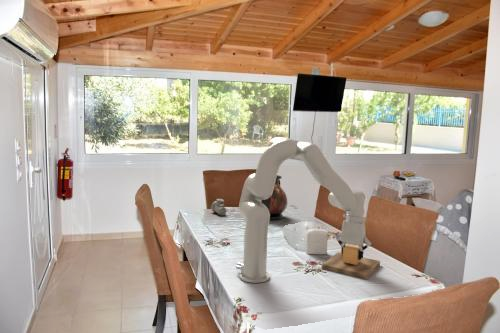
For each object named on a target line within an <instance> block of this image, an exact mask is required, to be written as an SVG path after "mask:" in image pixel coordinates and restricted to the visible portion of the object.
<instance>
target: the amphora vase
mask: <svg viewBox="0 0 500 333" xmlns="http://www.w3.org/2000/svg"><path fill="white" fill-rule="evenodd" d="M282 178H283V176H282V175H279V174H277V177H276V181H275V185H274V189H273V193H272V195H271V196H270V197H269V198H268V199H265V200H262V201H261V203H263V204H264V205H265V206H266V207H267V208H268V210H269V213H270V221H278V220H281V219H283V218H284V215H283V213H284V212H285V211H286V210H287V208H288V197H287V194H286V192H285V190H284V189H283V188H282V187H281V179H282Z"/></svg>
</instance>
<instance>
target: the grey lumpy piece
mask: <svg viewBox="0 0 500 333" xmlns="http://www.w3.org/2000/svg"><path fill="white" fill-rule="evenodd" d="M224 202H225V200H224V199H222V198H216V200H215V201H213V202H212V204H210V209H211V211H212V212H213V213H217V214H218V215H219V216H220V217H223V216H225V215H226V213H227V212H228V210H227V208H226V206H225V204H224Z"/></svg>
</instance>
